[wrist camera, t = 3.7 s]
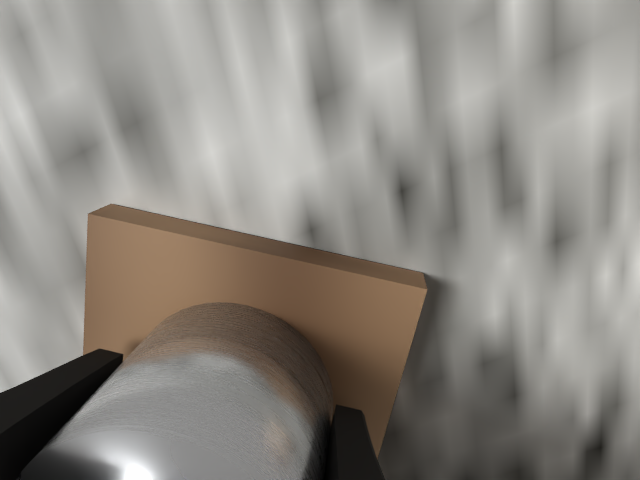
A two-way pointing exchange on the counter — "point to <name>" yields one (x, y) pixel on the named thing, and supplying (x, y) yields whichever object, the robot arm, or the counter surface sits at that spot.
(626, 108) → the counter surface
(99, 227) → the walnut stand
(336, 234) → the counter surface
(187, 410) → the silver metal canister
